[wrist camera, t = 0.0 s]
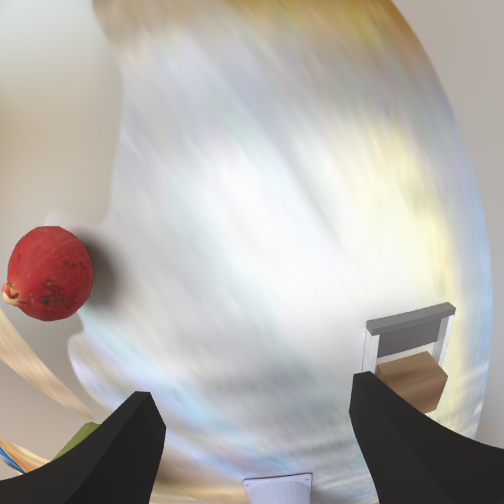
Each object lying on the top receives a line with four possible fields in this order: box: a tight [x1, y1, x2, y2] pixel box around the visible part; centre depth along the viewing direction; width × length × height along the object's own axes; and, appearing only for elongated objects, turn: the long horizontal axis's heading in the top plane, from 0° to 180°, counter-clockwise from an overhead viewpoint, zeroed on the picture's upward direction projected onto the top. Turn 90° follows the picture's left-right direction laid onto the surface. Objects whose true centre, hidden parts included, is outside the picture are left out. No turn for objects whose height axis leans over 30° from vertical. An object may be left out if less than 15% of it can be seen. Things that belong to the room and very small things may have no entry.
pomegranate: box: [1, 226, 94, 321], centre depth 14 cm, size 6×6×8 cm
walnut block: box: [376, 351, 448, 414], centre depth 19 cm, size 4×5×4 cm
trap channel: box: [362, 302, 456, 374], centre depth 20 cm, size 11×8×1 cm
